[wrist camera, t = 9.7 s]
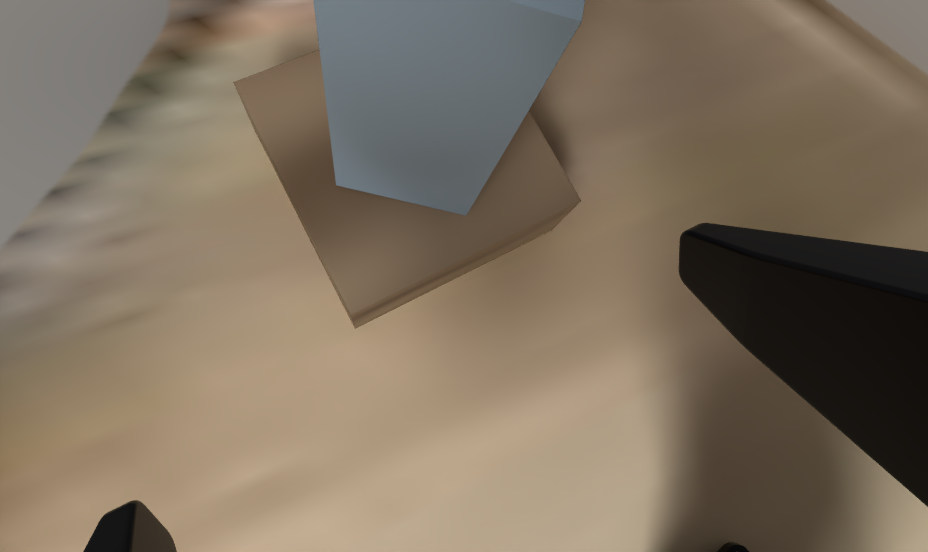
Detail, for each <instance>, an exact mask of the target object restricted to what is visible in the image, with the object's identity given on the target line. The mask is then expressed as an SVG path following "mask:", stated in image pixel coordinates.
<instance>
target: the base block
mask: <svg viewBox="0 0 928 552" xmlns="http://www.w3.org/2000/svg"><path fill="white" fill-rule="evenodd" d="M233 83H234V85H235V87H236V89H237V92H238V94H239V96H240V98H241V101H242V103H243V105H244V107H245V110H246V112H247V114H248V116H249V119H250V121H251V123H252V125H253V128H254V130H255V132H256V134H257V136H258V138H259V140H260V142H261V144H262V146H263V148H264V150H265V152H266V154H267V156H268V157H269V159H270V161H271V163H272V165H273V167H274V169H275V171H276V173H277V175H278V177H279V179H280V181H281V183H282V185H283V187H284V189H285V191H286V193H287V195H288V197H289V199H290V201H291V203H292V205H293V207H294V209H295V211H296V213H297V215H298V217H299V219H300V221H301V223H302V225H303V227H304V229H305V231H306V233H307V235H308V237H309V239H310V241H311V243H312V245H313V246H314V248H315V250H316V252H317V254H318V256H319V258H320V260H321V262H322V264H323V266H324V268H325V270H326V272H327V274H328V276H329V278H330V280H331V282H332V284H333V286H334V288H335V290H336V292H337V294H338V296H339V298H340V300H341V302H342V304H343V306H344V308H345V310H346V312H347V314H348V316H349V318H350V320H351V322H352V324H353V326H354V328H357V327H359V326H361V325H363V324H365V323H367V322H369V321H371V320H373V319H375V318H377V317H379V316H381V315H383V314H385V313H387V312H389V311H391V310H393V309H395V308H397V307H399V306H401V305H403V304H405V303H407V302H409V301H411V300H413V299H415V298H417V297H419V296H421V295H423V294H425V293H427V292H429V291H431V290H433V289H435V288H437V287H439V286H441V285H443V284H445V283H447V282H449V281H451V280H453V279H455V278H457V277H459V276H461V275H463V274H465V273H467V272H469V271H471V270H473V269H475V268H477V267H479V266H481V265H483V264H485V263H487V262H489V261H491V260H493V259H495V258H497V257H499V256H501V255H503V254H505V253H507V252H509V251H511V250H513V249H515V248H517V247H519V246H521V245H523V244H525V243H527V242H529V241H531V240H533V239H535V238H537V237H539V236H541V235H543V234H545V233H547V232H549V231H551V230H553V229H554V228H555V227H556V226H557V224H558V223H559V222H560V221H561V220H562V219H563V218H564V217H565V216H566V215H567V214H568V213H569V212H570V211H571V210H572V209H573V208H574V207H575V206H576V205H577V204H578V203H579V202H580V201H581V200H580V198H579V196H578V194H577V193H576V191H575V189H574V187H573V186H572V184H571V182H570V181H569V179H568V177H567V175H566V174H565V172H564V170H563V168H562V167H561V165H560V163H559V161H558V160H557V158H556V156H555V155H554V153H553V151H552V149H551V148H550V146H549V144H548V142H547V141H546V139H545V137H544V135H543V134H542V132H541V130H540V128H539V127H538V125H537V123H536V122H535V120H534V118H533V116H532V115H531V113H530V111H528V112H527V114H526V116H525V117H524V119H523V121H522V123H521V124H520V126H519V128H518V129H517V131H516V133H515V134H514V136H513V138H512V139H511V141H510V143H509V144H508V146H507V148H506V149H505V151H504V153H503V154H502V156H501V158H500V160H499V161H498V163H497V165H496V166H495V168H494V170H493V171H492V173H491V175H490V176H489V178H488V180H487V181H486V183H485V185H484V186H483V188H482V190H481V192H480V193H479V195H478V197H477V198H476V200H475V202H474V203H473V205H472V207H471V208H470V210H469V212H468V213H467V215H466V216H465V215H461V214H457V213H452V212H448V211H444V210H440V209H435V208H431V207H427V206H422V205H418V204H414V203H410V202H405V201H401V200H397V199H393V198H388V197H384V196H380V195H375V194H371V193H367V192H363V191H358V190H354V189H350V188H346V187H341V186H337V185H336V180H335V172H334V164H333V156H332V148H331V139H330V131H329V123H328V115H327V107H326V98H325V90H324V82H323V74H322V66H321V58H320V50H317V51H315V52H312V53H309V54H307V55H304V56H301V57H299V58H296V59H294V60H291V61H288V62H286V63H283V64H280V65H278V66H275V67H272V68H270V69H267V70H265V71H262V72H259V73H257V74H254V75H251V76H249V77H246V78H243V79H241V80H238V81H235V82H233Z"/></svg>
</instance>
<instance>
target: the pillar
mask: <svg viewBox="0 0 928 552" xmlns="http://www.w3.org/2000/svg"><path fill="white" fill-rule="evenodd" d="M584 3H585V0H314V9H315V17H316V25H317V33H318V41H319V49H320V58H321V66H322V74H323V82H324V90H325V98H326V107H327V115H328V123H329V131H330V139H331V148H332V156H333V164H334V172H335V180H336V185H337V186H341V187H346V188H350V189H354V190H358V191H363V192H367V193H371V194H375V195H380V196H384V197H388V198H393V199H397V200H401V201H405V202H410V203H414V204H418V205H422V206H427V207H431V208H435V209H440V210H444V211H448V212H452V213H457V214H461V215H465V216H466V215H467V213H468V212H469V210H470V208H471V207H472V205H473V203H474V202H475V200H476V198H477V197H478V195H479V193H480V192H481V190H482V188H483V186H484V185H485V183H486V181H487V180H488V178H489V176H490V175H491V173H492V171H493V170H494V168H495V166H496V165H497V163H498V161H499V160H500V158H501V156H502V154H503V153H504V151H505V149H506V148H507V146H508V144H509V143H510V141H511V139H512V138H513V136H514V134H515V133H516V131H517V129H518V128H519V126H520V124H521V123H522V121H523V119H524V117H525V116H526V114H527V112H528V111H529V109H530V107H531V106H532V104H533V102H534V101H535V99H536V97H537V96H538V94H539V92H540V91H541V89H542V87H543V85H544V84H545V82H546V80H547V79H548V77H549V75H550V74H551V72H552V70H553V69H554V67H555V65H556V64H557V62H558V60H559V59H560V57H561V55H562V54H563V52H564V50H565V48H566V47H567V45H568V43H569V42H570V40H571V38H572V37H573V35H574V33H575V32H576V30H577V28H578V27H579V25H580V23H581V22H582V15H583V9H584Z"/></svg>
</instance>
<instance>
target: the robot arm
mask: <svg viewBox="0 0 928 552" xmlns="http://www.w3.org/2000/svg"><path fill="white" fill-rule="evenodd" d="M679 275H680V277H681V280H682V281H683V283H684V284H685V285H686V286H687V287H688V288H689V290H690V291H691V292H692V293H693V294H694V295H695V296H696V297H697V298H698V299H699V300H700V301H701V302H702V303H703V304H704V305H705V307H706V308H707V309H708V310H709V311H710V312H711V313H712V314H713V315H714V316H715V317H716V318H717V319H718V320H719V321H720V322H721V324H722V325H723V326H724V327H725V328H726V329H727V330H728V331H729V332H730V333H731V334H732V335H733V336H734V337H735V338H736V339H737V340H738V341H739V342H740V343H741V344H742V345H743V346H744V347H745V348H746V349H747V350H748V351H749V352H750V353H752V354H753V355H754V356H755V357H756V358H757V359H758V360H760V361H761V362H762V363H763V364H764V365H765V366H766V367H768V368H769V369H770V370H771V371H772V372H773V373H775V374H776V375H777V376H778V377H779V378H780V379H781V380H783V381H784V382H785V383H786V384H787V385H788V386H789V387H791V388H792V389H793V390H794V391H795V392H796V393H798V394H799V395H800V396H801V397H802V398H803V399H804V400H806V401H807V402H808V403H809V404H810V405H811V406H813V407H814V408H815V409H816V410H817V411H818V412H819V413H821V414H822V415H823V416H824V417H825V418H826V419H827V420H829V421H830V422H831V423H832V424H833V425H834V426H836V427H837V428H838V429H839V430H840V431H841V432H842V433H844V434H845V435H846V436H847V437H848V438H849V439H850V440H852V441H853V442H854V443H855V444H856V445H857V446H859V447H860V448H861V449H862V450H863V451H864V452H865V453H867V454H868V455H869V456H870V457H871V458H872V459H873V460H875V461H876V462H877V463H878V464H879V465H880V466H882V467H883V468H884V469H885V470H886V471H887V472H888V473H890V474H891V475H892V476H893V477H894V478H895V479H896V480H898V481H899V482H900V483H901V484H902V485H903V486H905V487H906V488H907V489H908V490H909V491H910V492H911V493H913V494H914V495H915V496H916V497H917V498H918V499H919V500H921V501H922V502H923V503H924V504H925V505H926V506H928V252H925V251H917V250H909V249H901V248H894V247H886V246H878V245H871V244H863V243H855V242H848V241H840V240H833V239H825V238H817V237H810V236H802V235H794V234H787V233H779V232H771V231H764V230H756V229H748V228H741V227H733V226H725V225H718V224H710V223H701V224H698V225H696V226H694V227H692V228H690V229H688V230H686V231H684V232H683V233H682V235H681V237H680V246H679ZM83 552H177V551H176V547H175V544H174V541H173V539H172V537H171V535H170V533H169V532H168V531H167V529H166V528H165V527H164V526H163V525H162V524H161V523H160V522H159V520H158V519H157V518H156V517H155V516H154V515H153V514H152V513H151V512H150V510H149V509H148V508H147V507H146V506H145V505H144V504H143V503H142V502H140V501H138V500H134V501H130V502H128V503H126V504H124V505H122V506H120V507H118V508H116V509H114V510H112V511H110V512H108V513H106V514H105V515H104V516H103V517H102V518H101V520H100V521H99V523H98V525H97V527H96V529H95V531H94V533H93V534H92V536H91V538H90V540H89V542H88V544H87V546H86V548H85V550H84V551H83ZM717 552H749V551H748V550H747V549H746V548H745V547H744V546H742V545H739V544H737V543H734V542H728V543H727V544H725V545H724V546H723V547H721V548H720V549H719V550H718V551H717Z"/></svg>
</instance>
